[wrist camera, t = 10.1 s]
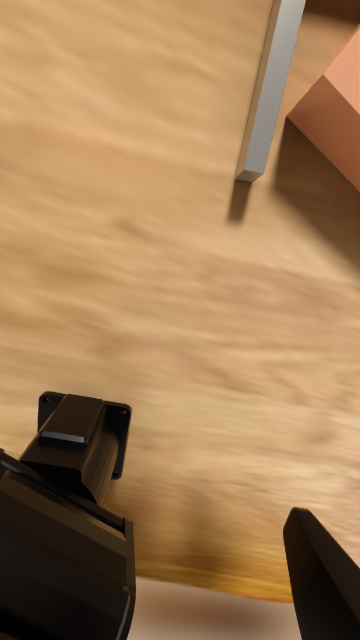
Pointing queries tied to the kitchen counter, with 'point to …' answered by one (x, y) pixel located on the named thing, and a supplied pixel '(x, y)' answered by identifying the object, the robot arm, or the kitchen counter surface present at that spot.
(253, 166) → the grey u-shaped bracket
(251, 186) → the kitchen counter surface
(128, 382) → the kitchen counter surface
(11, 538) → the robot arm
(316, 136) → the salmon pink block
